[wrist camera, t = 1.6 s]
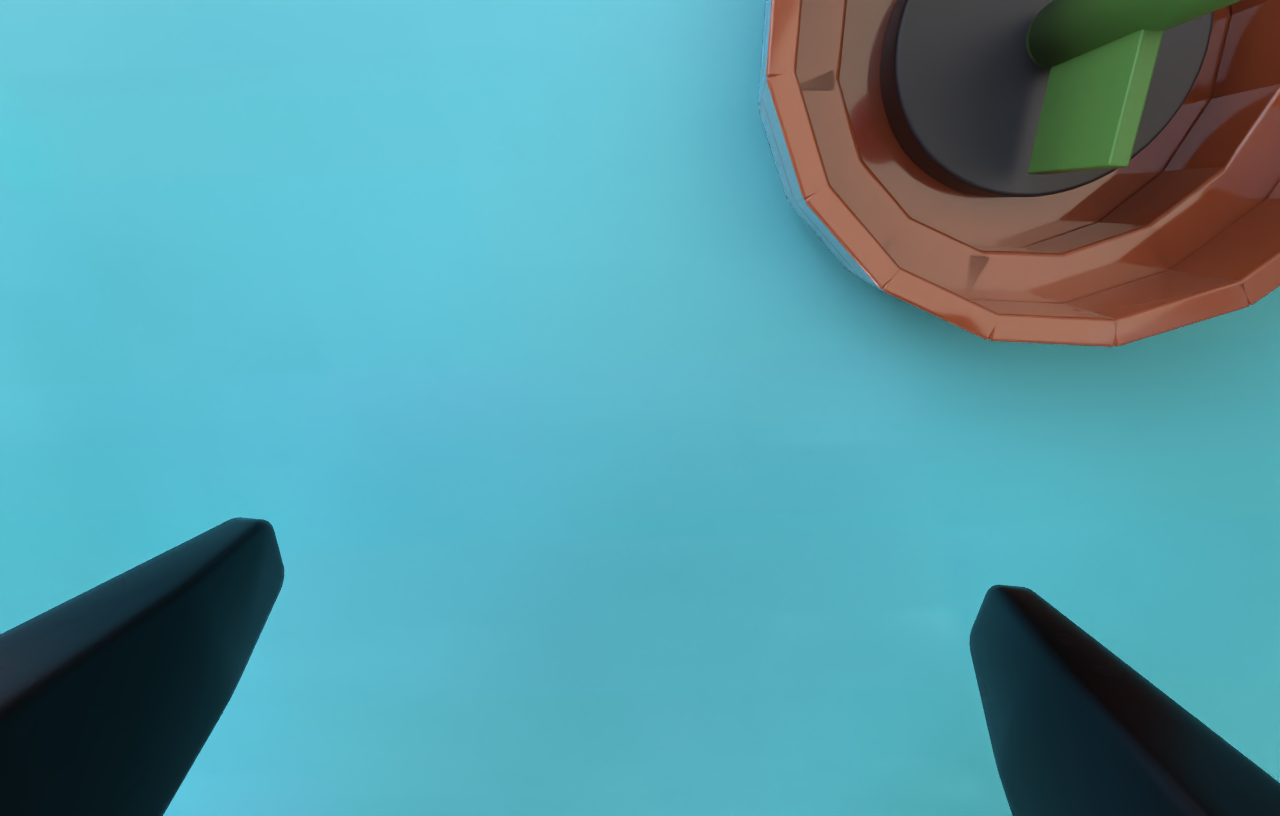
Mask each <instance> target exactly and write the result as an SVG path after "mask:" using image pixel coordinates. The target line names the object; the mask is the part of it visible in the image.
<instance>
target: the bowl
mask: <svg viewBox="0 0 1280 816" xmlns="http://www.w3.org/2000/svg"><path fill="white" fill-rule="evenodd" d="M897 1H898V0H766V4H765V17H764V31H763V45H762V59H761V73H760V87H759V101H758V104H759V107H760V108H759V113H760V116H761V119H762V122H763V125H764V129H765V132H766V135H767V138H768V141H769V145H770V148H771V151H772V154H773V157H774V160H775V164H776V167H777V170H778V173H779V176H780V180H781V183H782V186H783V189H784V192H785V195H786V198H787V199H788V200H789V203H790V205H791V206H792V207H793V208H794V209H795V211H796V212H797V213H798V214H799V215H800V216H801V218H802V219H803V220H804V221H805V222H806V223H807V225H808V226H809V227H810V228H811V229H812V230H813V231H814V233H815V234H816V235H817V236H818V237H819V238H820V240H821V241H822V242H823V243H824V244H825V245H826V247H827V248H828V249H829V250H830V251H831V252H832V253H833V255H834V256H835V257H836V258H837V259H838V260H839V262H840V263H841V264H842V265H843V266H844V267H845V268H846V269H848V270H849V271H850V272H851V273H853V274H855V275H856V276H858V277H860V278H861V279H863V280H865V281H866V282H868V283H869V284H871V285H873V286H874V287H876V288H878V289H879V290H881V291H883V292H885V293H887V294H889V295H891V296H893V297H895V298H897V299H899V300H901V301H904V302H906V303H908V304H910V305H912V306H914V307H916V308H918V309H921V310H923V311H925V312H927V313H929V314H931V315H933V316H935V317H938V318H940V319H942V320H944V321H946V322H948V323H950V324H952V325H955V326H957V327H959V328H961V329H963V330H965V331H967V332H969V333H972V334H974V335H976V336H978V337H980V338H982V339H984V340H990V341H997V342H1017V343H1037V344H1057V345H1076V346H1096V347H1113V346H1121V345H1124V344H1128V343H1131V342H1134V341H1137V340H1141V339H1144V338H1147V337H1151V336H1154V335H1157V334H1160V333H1164V332H1167V331H1170V330H1174V329H1177V328H1180V327H1183V326H1187V325H1190V324H1193V323H1197V322H1200V321H1203V320H1207V319H1210V318H1213V317H1216V316H1220V315H1223V314H1226V313H1230V312H1233V311H1236V310H1239V309H1243V308H1246V307H1248V306H1249V305H1252V304H1254V303H1256V302H1257V301H1259V300H1260V299H1262V298H1263V297H1264V296H1266V295H1267V294H1269V293H1270V292H1272V291H1273V290H1275V289H1276V288H1277V287H1279V286H1280V0H1241V1H1238V2H1236V3H1233V4H1231V5H1228V6H1226V7H1223V8H1221V9H1218V10H1216V11H1214V14H1213V25H1212V31H1211V36H1210V40H1209V45H1208V50H1207V52H1206V55H1205V58H1204V61H1203V64H1202V67H1201V70H1200V72H1199V74H1198V76H1197V78H1196V81H1195V83H1194V85H1193V87H1192V89H1191V91H1190V93H1189V94H1188V96H1187V98H1186V99H1185V101H1184V102H1183V104H1182V106H1181V107H1180V109H1179V110H1178V112H1177V113H1176V114H1175V116H1174V117H1173V118H1172V119H1171V121H1170V122H1169V123H1168V124H1167V126H1166V127H1165V128H1164V130H1163V131H1162V132H1161V133H1160V134H1159V135H1158V136H1157V137H1156V138H1155V139H1154V140H1153V141H1152V142H1151V143H1150V144H1149V145H1148V146H1147V147H1146V148H1145V149H1143V150H1142V151H1141V152H1140V153H1138V154H1137V155H1136V156H1135V157H1134V158H1132V159H1131V160H1130V162H1129V165H1128V167H1123V168H1118V169H1116V170H1115V171H1113V172H1112V173H1110V174H1108V175H1106V176H1104V177H1102V178H1100V179H1098V180H1096V181H1094V182H1092V183H1089V184H1087V185H1084V186H1081V187H1079V188H1076V189H1073V190H1069V191H1065V192H1061V193H1057V194H1053V195H1045V196H1037V197H985V196H978V195H972V194H969V193H965V192H962V191H958V190H956V189H953V188H951V187H949V186H947V185H944V184H942V183H941V182H939V181H937V180H936V179H934V178H933V177H931V176H929V175H928V174H927V173H926V172H924V171H923V170H922V169H921V168H920V167H919V166H917V165H916V164H915V163H914V161H913V160H912V159H911V158H910V157H909V156H908V155H907V153H906V152H905V151H904V149H903V148H902V146H901V145H900V143H899V142H898V140H897V139H896V137H895V135H894V133H893V130H892V128H891V126H890V124H889V122H888V118H887V115H886V112H885V108H884V105H883V98H882V92H881V81H880V65H881V54H882V47H883V42H884V38H885V33H886V29H887V26H888V23H889V20H890V18H891V15H892V12H893V9H894V7H895V5H896V3H897Z"/></svg>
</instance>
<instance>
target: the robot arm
mask: <svg viewBox="0 0 1280 816" xmlns="http://www.w3.org/2000/svg"><path fill="white" fill-rule="evenodd" d="M283 580H284V566H283V562H282V559H281V555H280V551H279V547H278V544H277V540H276V536H275V532H274V529H273V526H272V525H271V524H270V523H269V522H268V521H266V520H263V519H251V518H233V519H231V520H228V521H226V522H224V523H222V524H220V525H218V526H216V527H214V528H212V529H210V530H208V531H206V532H204V533H202V534H200V535H198V536H196V537H194V538H192V539H190V540H188V541H186V542H184V543H182V544H180V545H178V546H176V547H174V548H172V549H170V550H168V551H166V552H164V553H162V554H160V555H158V556H156V557H154V558H152V559H150V560H148V561H146V562H144V563H142V564H140V565H138V566H136V567H134V568H132V569H130V570H128V571H126V572H124V573H122V574H120V575H118V576H116V577H114V578H112V579H110V580H108V581H106V582H104V583H102V584H100V585H98V586H96V587H94V588H92V589H90V590H88V591H86V592H84V593H82V594H80V595H78V596H76V597H74V598H72V599H70V600H68V601H66V602H64V603H62V604H60V605H58V606H56V607H54V608H52V609H50V610H48V611H46V612H44V613H42V614H40V615H38V616H36V617H34V618H32V619H30V620H28V621H26V622H24V623H22V624H20V625H18V626H16V627H14V628H12V629H10V630H8V631H6V632H4V633H2V634H0V816H163V814H164V813H165V811H166V809H167V808H168V806H169V804H170V802H171V801H172V799H173V797H174V796H175V794H176V792H177V790H178V789H179V787H180V785H181V783H182V782H183V780H184V778H185V777H186V775H187V773H188V771H189V770H190V768H191V766H192V765H193V763H194V761H195V759H196V758H197V756H198V754H199V753H200V751H201V749H202V747H203V746H204V744H205V742H206V741H207V739H208V737H209V735H210V734H211V732H212V730H213V728H214V727H215V725H216V723H217V722H218V720H219V718H220V716H221V715H222V713H223V711H224V709H225V707H226V706H227V704H228V702H229V700H230V698H231V697H232V694H233V692H234V690H235V688H236V686H237V684H238V682H239V680H240V678H241V676H242V674H243V671H244V669H245V667H246V665H247V663H248V660H249V658H250V656H251V654H252V652H253V649H254V647H255V645H256V643H257V641H258V638H259V636H260V634H261V632H262V630H263V627H264V625H265V623H266V621H267V619H268V616H269V614H270V612H271V610H272V607H273V605H274V603H275V601H276V599H277V596H278V594H279V592H280V590H281V587H282V584H283ZM970 651H971V656H972V661H973V665H974V669H975V674H976V678H977V683H978V687H979V691H980V696H981V700H982V705H983V709H984V713H985V718H986V722H987V727H988V731H989V735H990V740H991V744H992V749H993V753H994V757H995V761H996V765H997V768H998V772H999V776H1000V779H1001V782H1002V785H1003V788H1004V791H1005V794H1006V797H1007V800H1008V803H1009V806H1010V809H1011V812H1012V815H1013V816H1280V783H1279V782H1278V781H1276V780H1275V779H1274V778H1272V777H1271V776H1270V775H1269V774H1267V773H1266V772H1265V771H1263V770H1262V769H1261V768H1260V767H1258V766H1257V765H1256V764H1254V763H1253V762H1252V761H1251V760H1249V759H1248V758H1247V757H1245V756H1244V755H1243V754H1242V753H1240V752H1239V751H1238V750H1236V749H1235V748H1234V747H1233V746H1231V745H1230V744H1229V743H1227V742H1226V741H1225V740H1224V739H1222V738H1221V737H1220V736H1219V735H1217V734H1216V733H1215V732H1213V731H1212V730H1211V729H1210V728H1208V727H1207V726H1206V725H1204V724H1203V723H1202V722H1201V721H1199V720H1198V719H1197V718H1195V717H1194V716H1193V715H1192V714H1190V713H1189V712H1188V711H1186V710H1185V709H1184V708H1183V707H1181V706H1180V705H1179V704H1177V703H1176V702H1175V701H1174V700H1172V699H1171V698H1170V697H1168V696H1167V695H1166V694H1165V693H1163V692H1162V691H1161V690H1159V689H1158V688H1157V687H1156V686H1154V685H1153V684H1152V683H1150V682H1149V681H1148V680H1147V679H1145V678H1144V677H1143V676H1141V675H1140V674H1139V673H1138V672H1136V671H1135V670H1134V669H1132V668H1131V667H1130V666H1129V665H1127V664H1126V663H1125V662H1123V661H1122V660H1121V659H1120V658H1118V657H1117V656H1116V655H1114V654H1113V653H1112V652H1111V651H1109V650H1108V649H1107V648H1105V647H1104V646H1103V645H1102V644H1100V643H1099V642H1098V641H1096V640H1095V639H1094V638H1093V637H1091V636H1090V635H1089V634H1087V633H1086V632H1085V631H1084V630H1082V629H1081V628H1080V627H1078V626H1077V625H1076V624H1075V623H1073V622H1072V621H1071V620H1069V619H1068V618H1067V617H1066V616H1064V615H1063V614H1062V613H1060V612H1059V611H1058V610H1057V609H1055V608H1054V607H1053V606H1051V605H1050V604H1049V603H1048V602H1046V601H1045V600H1044V599H1042V598H1041V597H1040V596H1039V595H1037V594H1036V593H1035V592H1033V591H1032V590H1030V589H1028V588H1025V587H1018V586H1007V585H995V586H992V587H991V588H990V589H989V590H988V591H987V593H986V595H985V598H984V600H983V603H982V605H981V608H980V610H979V613H978V615H977V617H976V620H975V622H974V625H973V627H972V630H971V634H970Z"/></svg>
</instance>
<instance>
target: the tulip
mask: <svg viewBox="0 0 1280 816" xmlns="http://www.w3.org/2000/svg"><path fill="white" fill-rule="evenodd" d="M1238 1H1241V0H898V1H897V3H896V5H895V7H894V9H893V12H892V15H891V18H890V20H889V23H888V26H887V29H886V33H885V38H884V42H883V47H882V54H881V65H880V81H881V92H882V98H883V105H884V108H885V112H886V115H887V118H888V122H889V124H890V126H891V128H892V130H893V133H894V135H895V137H896V139H897V140H898V142H899V143H900V145H901V146H902V148H903V149H904V151H905V152H906V153H907V155H908V156H909V157H910V158H911V159H912V160H913V161H914V163H915V164H916V165H917V166H919V167H920V168H921V169H922V170H923V171H924V172H926V173H927V174H928V175H929V176H931V177H933V178H934V179H936V180H937V181H939V182H941V183H942V184H944V185H947V186H949V187H951V188H953V189H956V190H958V191H962V192H965V193H969V194H972V195H978V196H985V197H1037V196H1045V195H1053V194H1057V193H1061V192H1065V191H1069V190H1073V189H1076V188H1079V187H1081V186H1084V185H1087V184H1089V183H1092V182H1094V181H1096V180H1098V179H1100V178H1102V177H1104V176H1106V175H1108V174H1110V173H1112V172H1113V171H1115V170H1116V169H1118V168H1123V167H1128V165H1129V162H1130V160H1131V159H1132V158H1134V157H1135V156H1136V155H1137V154H1138V153H1140V152H1141V151H1142V150H1143V149H1145V148H1146V147H1147V146H1148V145H1149V144H1150V143H1151V142H1152V141H1153V140H1154V139H1155V138H1156V137H1157V136H1158V135H1159V134H1160V133H1161V132H1162V131H1163V130H1164V128H1165V127H1166V126H1167V124H1168V123H1169V122H1170V121H1171V119H1172V118H1173V117H1174V116H1175V114H1176V113H1177V112H1178V110H1179V109H1180V107H1181V106H1182V104H1183V102H1184V101H1185V99H1186V98H1187V96H1188V94H1189V93H1190V91H1191V89H1192V87H1193V85H1194V83H1195V81H1196V78H1197V76H1198V74H1199V72H1200V70H1201V67H1202V64H1203V61H1204V58H1205V55H1206V52H1207V50H1208V45H1209V40H1210V36H1211V31H1212V25H1213V14H1214V11H1216V10H1218V9H1221V8H1223V7H1226V6H1228V5H1231V4H1233V3H1236V2H1238Z"/></svg>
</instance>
